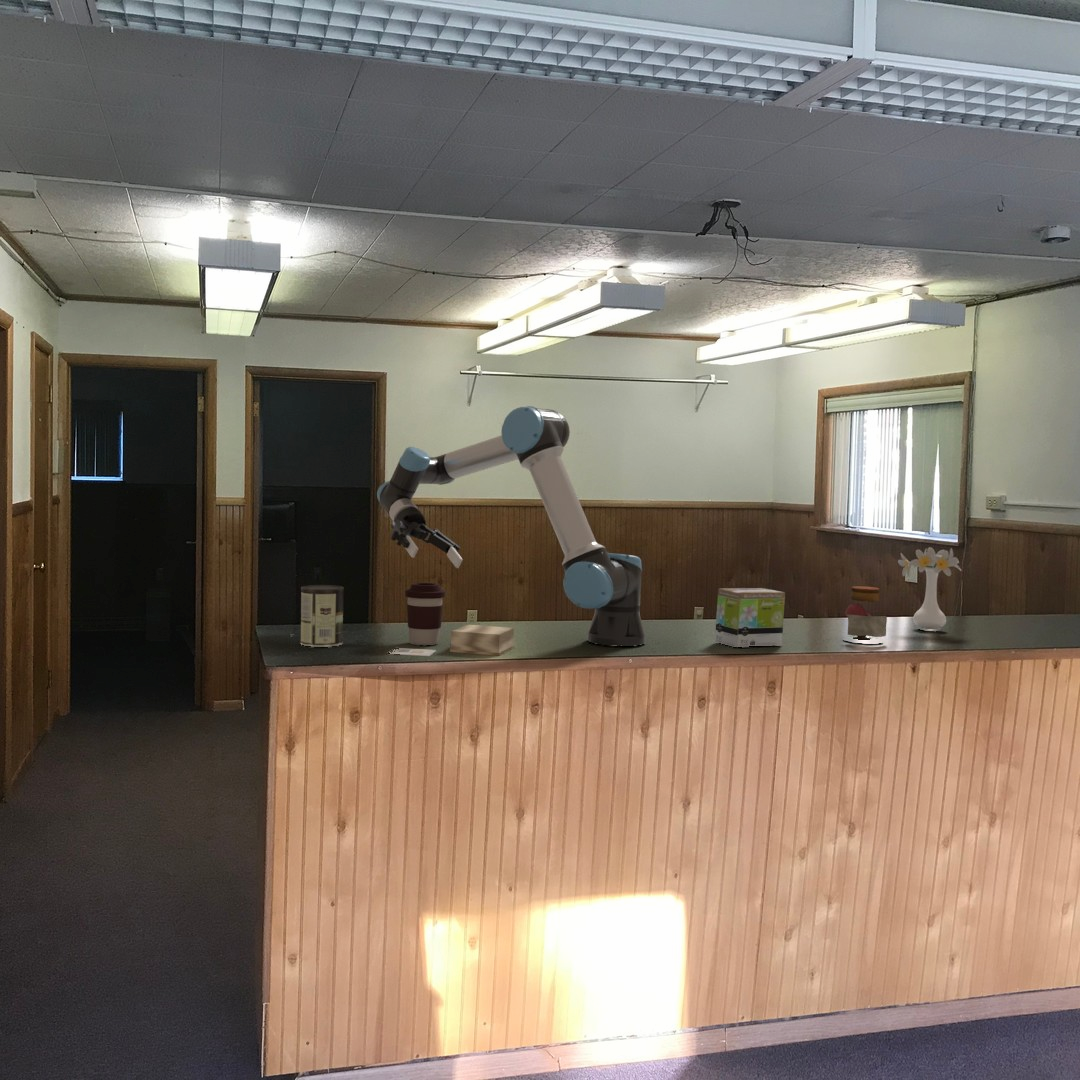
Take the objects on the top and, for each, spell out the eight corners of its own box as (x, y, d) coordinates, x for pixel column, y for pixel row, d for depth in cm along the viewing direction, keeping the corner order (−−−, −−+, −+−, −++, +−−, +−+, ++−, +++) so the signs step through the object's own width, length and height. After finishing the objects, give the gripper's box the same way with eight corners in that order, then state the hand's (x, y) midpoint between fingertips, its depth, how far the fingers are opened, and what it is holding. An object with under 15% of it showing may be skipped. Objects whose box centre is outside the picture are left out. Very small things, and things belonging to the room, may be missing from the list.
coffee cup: (427, 648, 262) (429, 587, 261) (395, 643, 267) (397, 583, 266) (451, 643, 270) (453, 584, 269) (420, 639, 275) (422, 580, 275)
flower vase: (888, 627, 327) (892, 545, 325) (941, 627, 332) (946, 546, 330) (913, 634, 314) (918, 548, 313) (968, 633, 319) (973, 549, 317)
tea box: (737, 649, 277) (740, 592, 276) (713, 643, 285) (716, 587, 285) (783, 646, 284) (786, 590, 283) (759, 640, 292) (761, 586, 291)
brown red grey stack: (829, 638, 300) (832, 585, 299) (869, 638, 304) (872, 585, 303) (851, 645, 289) (854, 590, 288) (893, 645, 292) (896, 590, 291)
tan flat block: (514, 647, 267) (514, 627, 267) (499, 655, 255) (499, 634, 255) (466, 644, 270) (467, 624, 270) (449, 651, 258) (450, 631, 258)
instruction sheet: (436, 650, 259) (436, 649, 259) (428, 656, 251) (428, 655, 251) (395, 648, 260) (395, 647, 260) (386, 654, 252) (386, 652, 252)
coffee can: (326, 639, 270) (327, 583, 269) (351, 645, 263) (352, 587, 262) (291, 643, 262) (292, 586, 262) (316, 649, 256) (317, 590, 255)
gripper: (440, 539, 298) (471, 579, 282) (361, 519, 283) (389, 561, 267) (452, 516, 296) (483, 555, 280) (373, 495, 281) (402, 535, 265)
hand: (437, 558), depth 273 cm, fingers open, 13 cm apart
